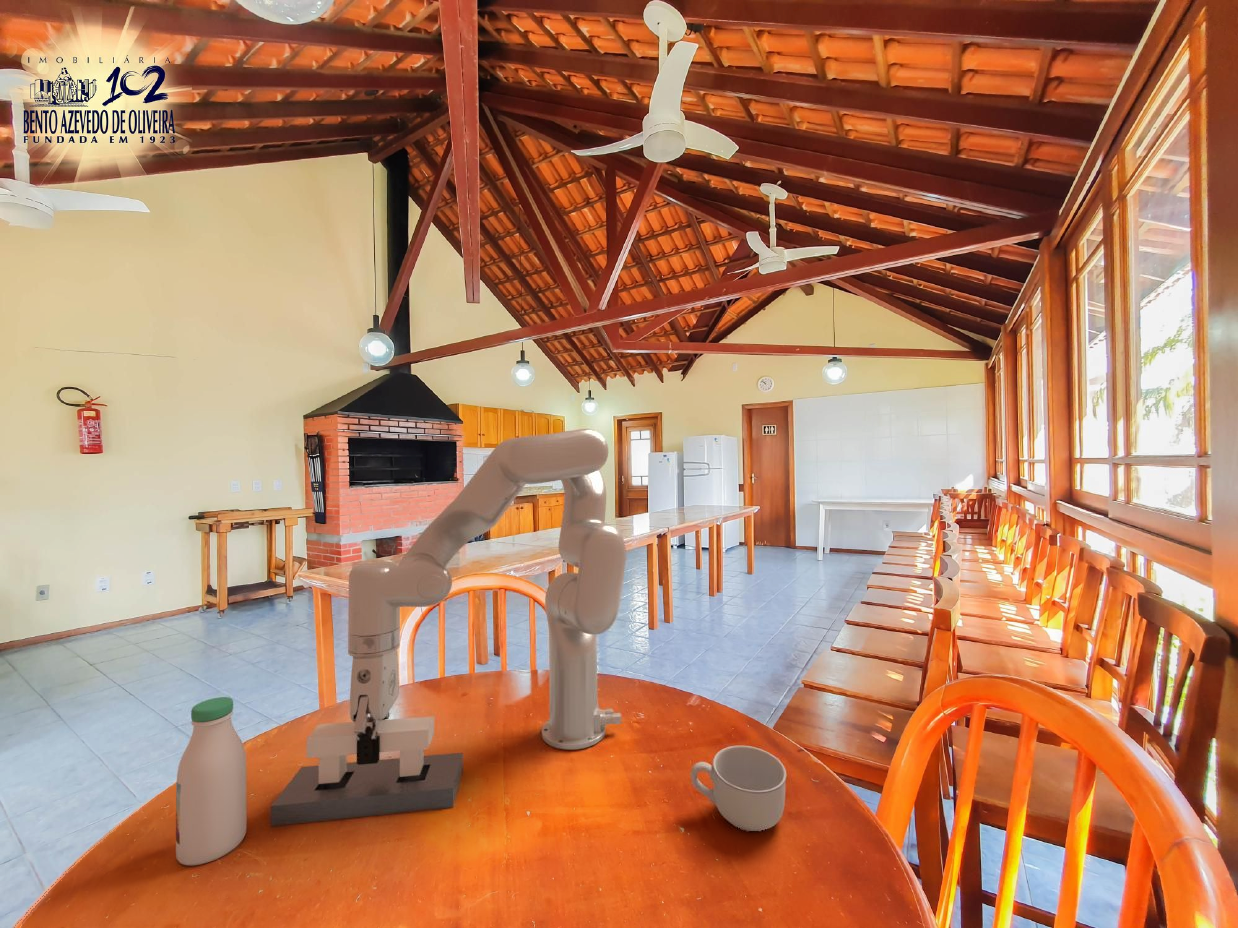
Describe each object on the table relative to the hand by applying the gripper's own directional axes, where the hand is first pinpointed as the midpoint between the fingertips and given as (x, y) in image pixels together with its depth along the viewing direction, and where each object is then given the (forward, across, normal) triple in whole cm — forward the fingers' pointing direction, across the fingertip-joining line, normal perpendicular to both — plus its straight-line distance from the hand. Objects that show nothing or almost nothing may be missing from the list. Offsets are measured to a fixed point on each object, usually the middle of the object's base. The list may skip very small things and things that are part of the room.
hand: (373, 752), depth 82 cm
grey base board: (+7, 0, 0) cm, 7 cm away
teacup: (+7, -14, -56) cm, 58 cm away
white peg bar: (+3, 0, 0) cm, 3 cm away
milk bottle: (+7, -8, +19) cm, 22 cm away
